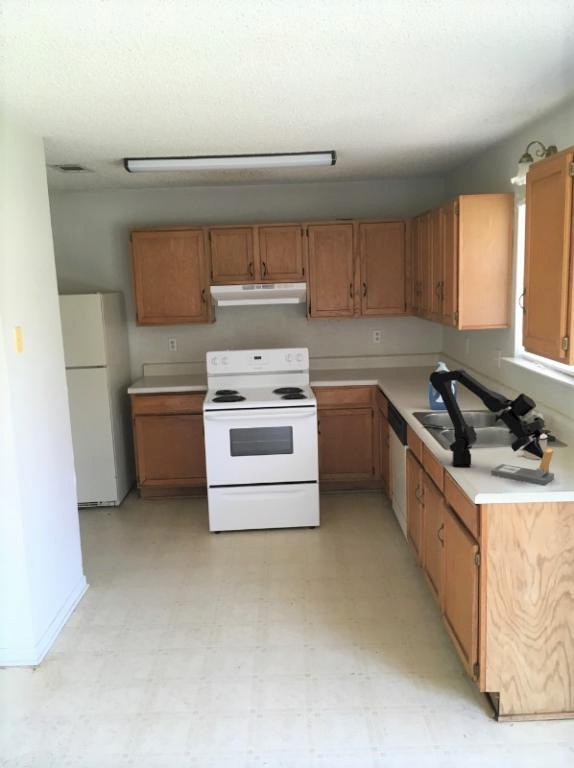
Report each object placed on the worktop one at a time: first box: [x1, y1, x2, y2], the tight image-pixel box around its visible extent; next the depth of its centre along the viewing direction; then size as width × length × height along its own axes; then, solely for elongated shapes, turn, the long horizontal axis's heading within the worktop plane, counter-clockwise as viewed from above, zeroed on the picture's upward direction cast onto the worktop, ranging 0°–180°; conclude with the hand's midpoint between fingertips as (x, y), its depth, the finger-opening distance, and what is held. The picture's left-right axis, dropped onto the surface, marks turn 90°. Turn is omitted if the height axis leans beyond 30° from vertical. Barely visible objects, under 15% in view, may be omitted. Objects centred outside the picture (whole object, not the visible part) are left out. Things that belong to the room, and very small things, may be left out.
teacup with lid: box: [518, 433, 549, 460], centre depth 257 cm, size 12×9×12 cm
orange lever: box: [538, 448, 554, 475], centre depth 226 cm, size 2×4×10 cm, turn 139°
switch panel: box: [490, 463, 555, 486], centre depth 232 cm, size 20×10×5 cm, turn 49°
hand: (543, 457), depth 227 cm, fingers closed, pressing on orange lever
